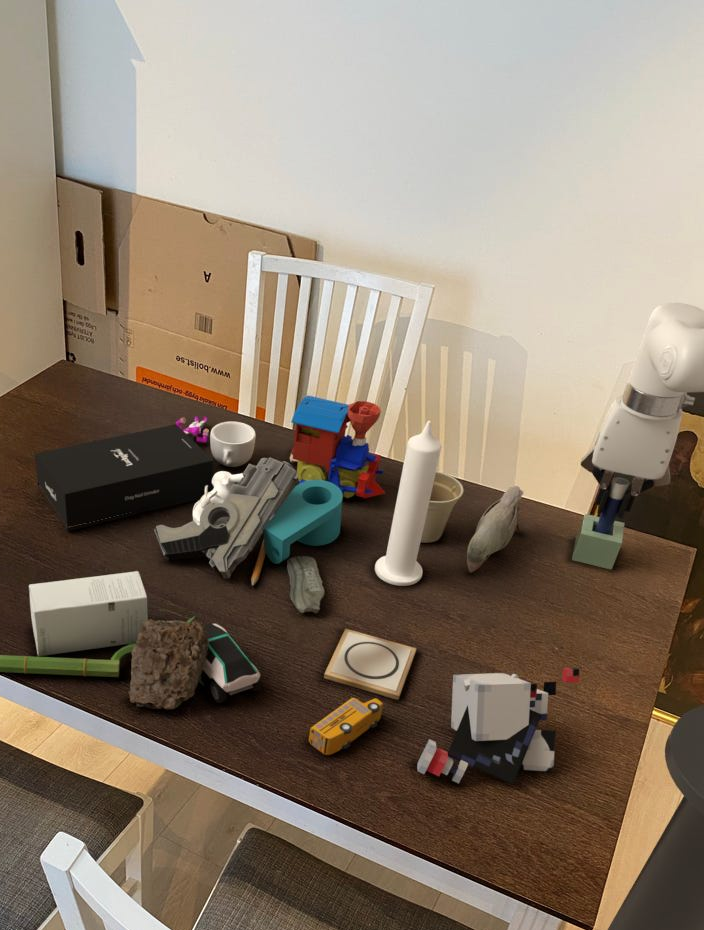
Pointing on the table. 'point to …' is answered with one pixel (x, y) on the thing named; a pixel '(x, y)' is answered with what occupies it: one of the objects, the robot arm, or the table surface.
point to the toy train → (336, 445)
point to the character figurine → (195, 429)
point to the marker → (612, 505)
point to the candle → (410, 511)
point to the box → (123, 475)
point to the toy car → (227, 665)
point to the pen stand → (597, 543)
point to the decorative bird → (494, 528)
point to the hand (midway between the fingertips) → (610, 510)
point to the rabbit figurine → (216, 494)
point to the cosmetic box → (87, 612)
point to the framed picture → (370, 664)
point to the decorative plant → (68, 664)
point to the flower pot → (440, 505)
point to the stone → (305, 584)
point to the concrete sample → (167, 663)
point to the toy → (496, 727)
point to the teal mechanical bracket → (304, 519)
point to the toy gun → (232, 519)
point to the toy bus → (345, 725)
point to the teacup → (232, 443)
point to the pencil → (259, 563)
